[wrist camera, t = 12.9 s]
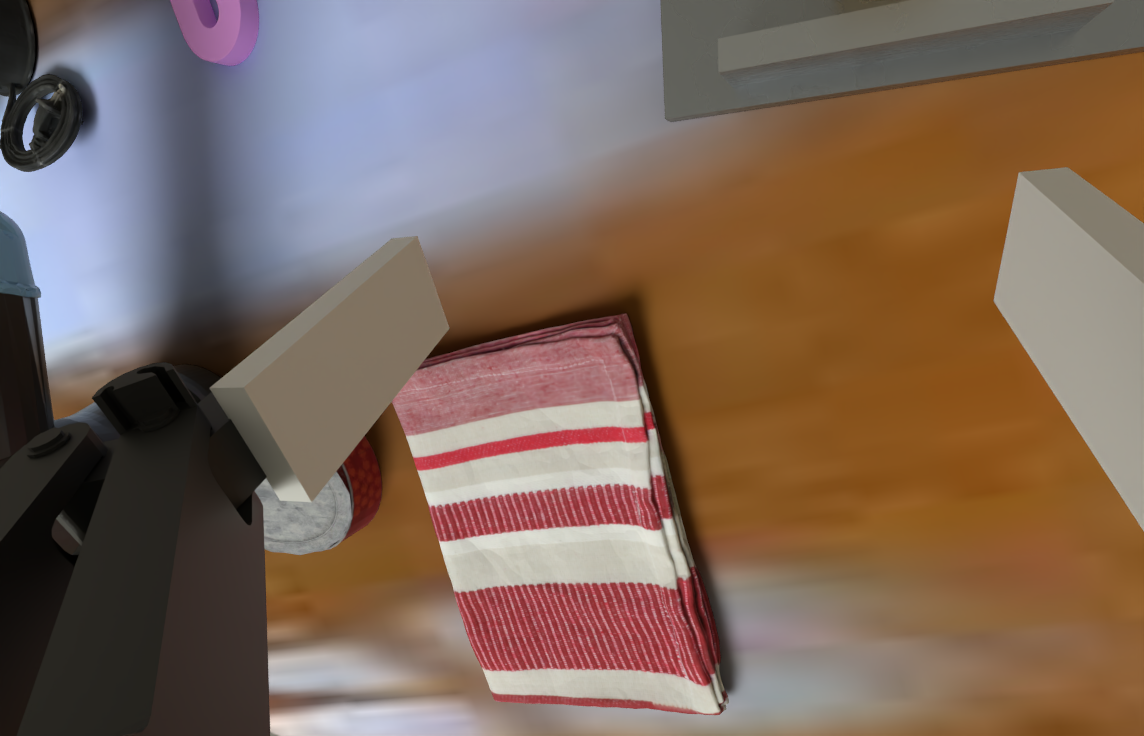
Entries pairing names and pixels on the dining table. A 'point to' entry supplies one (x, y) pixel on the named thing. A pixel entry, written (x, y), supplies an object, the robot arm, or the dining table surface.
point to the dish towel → (563, 521)
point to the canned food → (325, 507)
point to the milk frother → (32, 96)
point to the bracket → (219, 28)
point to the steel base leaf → (870, 45)
